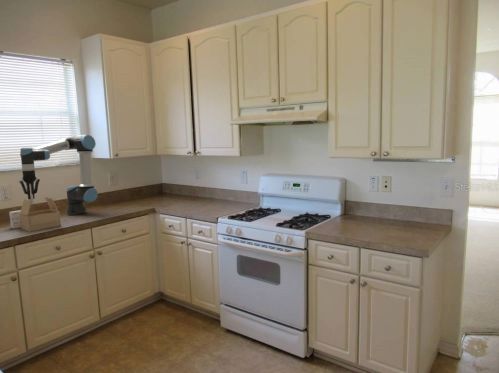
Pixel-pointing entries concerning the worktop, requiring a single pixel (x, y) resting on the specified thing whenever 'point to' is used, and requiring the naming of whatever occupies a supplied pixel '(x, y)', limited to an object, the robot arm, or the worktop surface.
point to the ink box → (15, 219)
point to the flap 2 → (51, 203)
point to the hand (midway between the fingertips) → (31, 203)
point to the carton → (40, 220)
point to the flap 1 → (25, 207)
